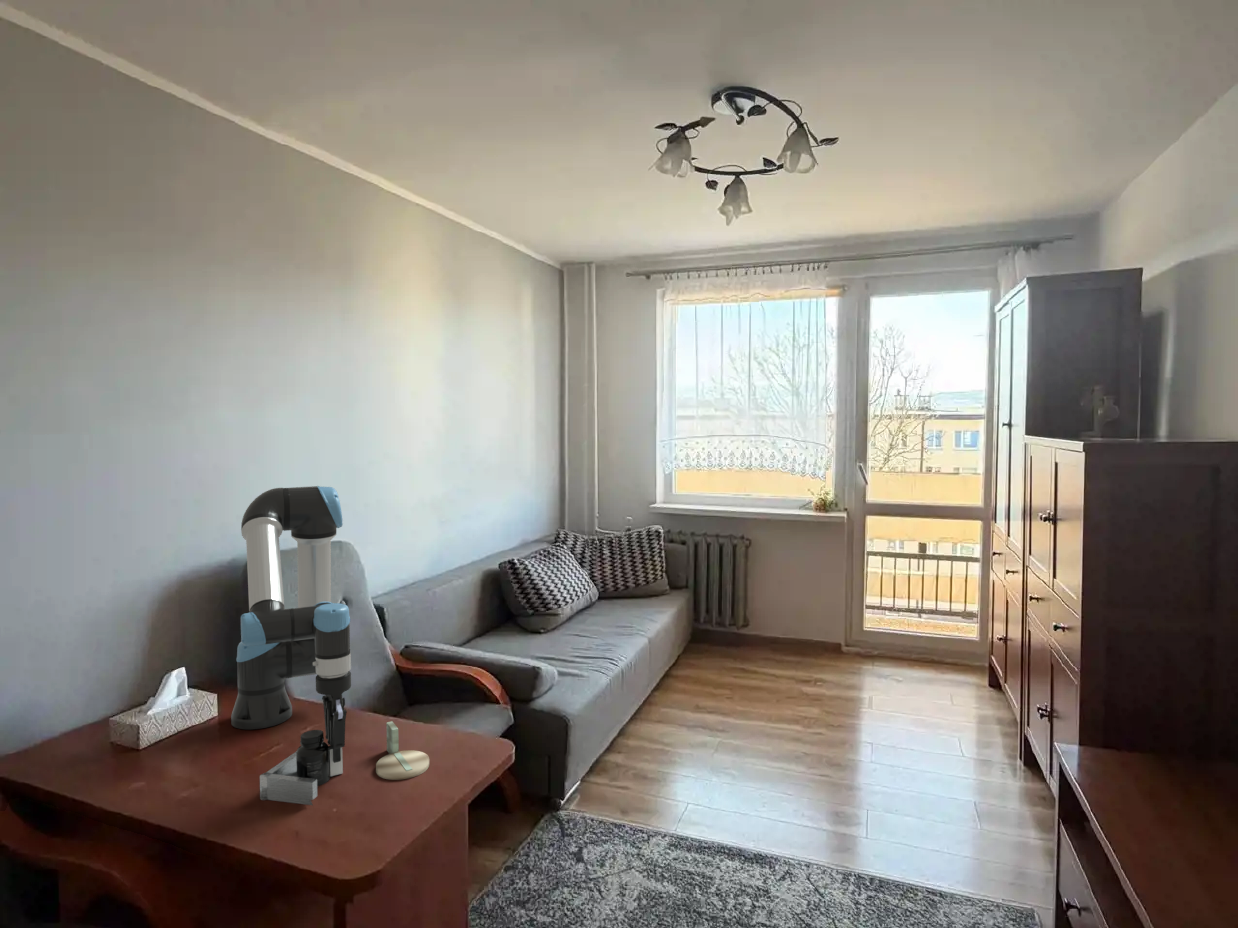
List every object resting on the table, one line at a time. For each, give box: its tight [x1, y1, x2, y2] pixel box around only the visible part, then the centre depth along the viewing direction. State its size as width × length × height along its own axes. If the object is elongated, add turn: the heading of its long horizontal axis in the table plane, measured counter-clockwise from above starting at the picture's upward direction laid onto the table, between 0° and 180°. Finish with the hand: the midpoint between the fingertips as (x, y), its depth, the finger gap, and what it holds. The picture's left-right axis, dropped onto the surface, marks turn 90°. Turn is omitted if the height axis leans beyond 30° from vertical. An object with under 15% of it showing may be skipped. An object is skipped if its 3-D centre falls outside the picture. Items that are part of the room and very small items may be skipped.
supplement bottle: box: [295, 729, 331, 787], centre depth 163 cm, size 7×7×12 cm
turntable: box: [375, 720, 430, 781], centre depth 171 cm, size 17×12×7 cm
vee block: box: [259, 750, 318, 806], centre depth 160 cm, size 18×10×5 cm, turn 33°
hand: (335, 773), depth 166 cm, fingers closed
